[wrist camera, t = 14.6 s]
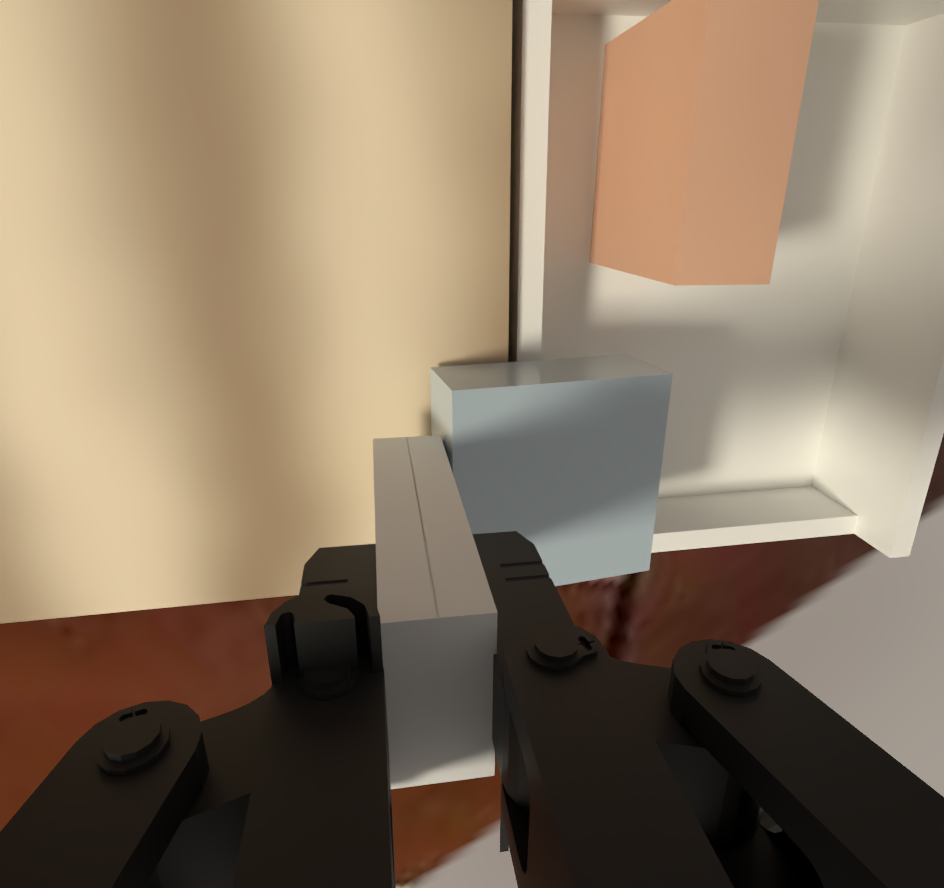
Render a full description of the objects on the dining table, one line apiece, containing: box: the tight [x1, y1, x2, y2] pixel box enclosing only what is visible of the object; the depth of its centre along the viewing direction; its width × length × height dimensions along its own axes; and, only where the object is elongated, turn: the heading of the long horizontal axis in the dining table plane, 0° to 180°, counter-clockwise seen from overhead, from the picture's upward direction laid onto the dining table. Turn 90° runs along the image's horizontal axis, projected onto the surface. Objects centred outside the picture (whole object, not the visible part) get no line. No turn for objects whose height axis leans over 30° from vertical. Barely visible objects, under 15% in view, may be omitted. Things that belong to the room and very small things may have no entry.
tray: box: [508, 0, 944, 558], centre depth 16 cm, size 11×14×4 cm
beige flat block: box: [0, 0, 512, 623], centre depth 15 cm, size 13×14×3 cm
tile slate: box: [430, 354, 673, 586], centre depth 15 cm, size 5×5×2 cm
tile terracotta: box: [589, 0, 819, 286], centre depth 14 cm, size 5×5×2 cm
